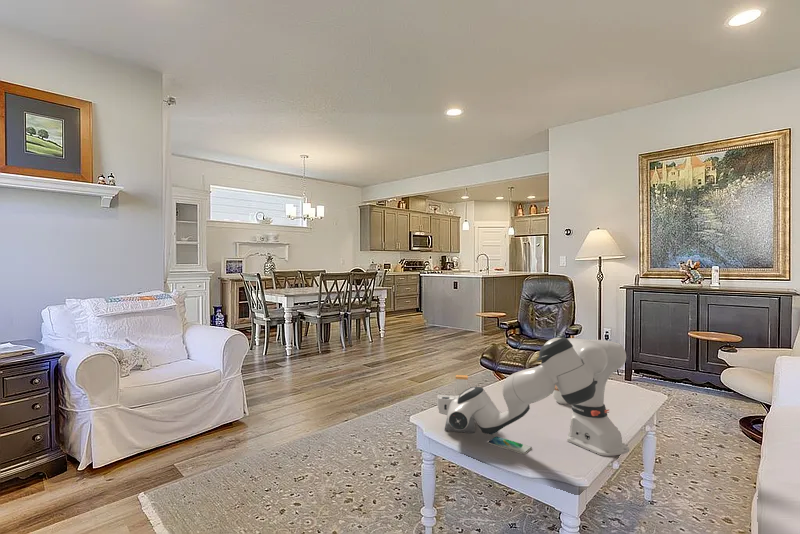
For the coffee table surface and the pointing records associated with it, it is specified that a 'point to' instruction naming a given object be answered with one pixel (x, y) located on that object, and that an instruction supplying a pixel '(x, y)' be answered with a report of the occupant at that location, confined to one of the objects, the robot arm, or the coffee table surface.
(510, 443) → the smartphone
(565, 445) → the coffee table surface
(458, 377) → the fader tab
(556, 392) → the lidded jar
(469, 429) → the board
